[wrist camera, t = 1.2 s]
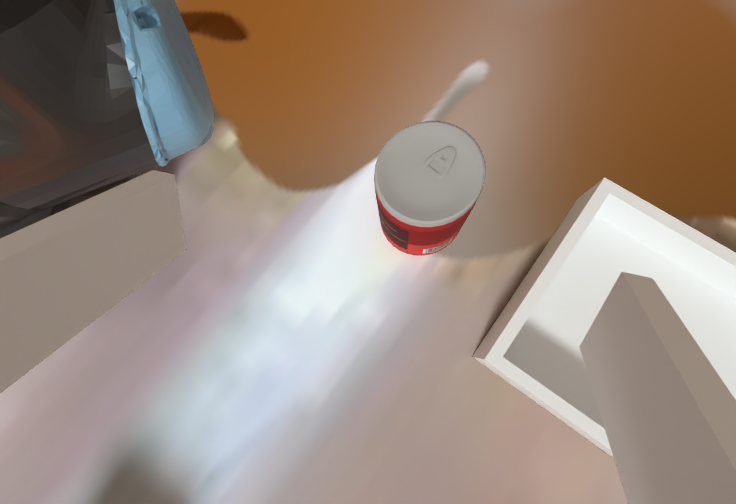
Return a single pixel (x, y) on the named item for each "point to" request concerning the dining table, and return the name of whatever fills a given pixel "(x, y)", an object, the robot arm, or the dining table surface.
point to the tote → (591, 288)
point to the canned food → (427, 185)
